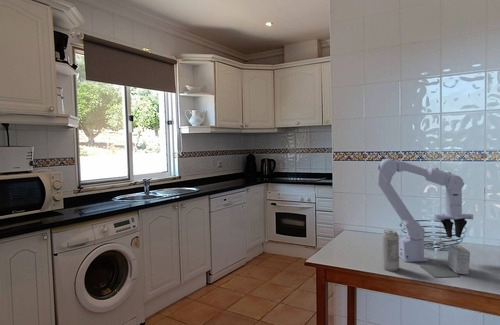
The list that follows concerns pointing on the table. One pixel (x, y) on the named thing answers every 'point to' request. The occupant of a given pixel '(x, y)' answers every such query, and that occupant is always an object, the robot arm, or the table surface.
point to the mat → (439, 271)
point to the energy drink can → (390, 250)
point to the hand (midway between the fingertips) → (453, 237)
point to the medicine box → (458, 259)
